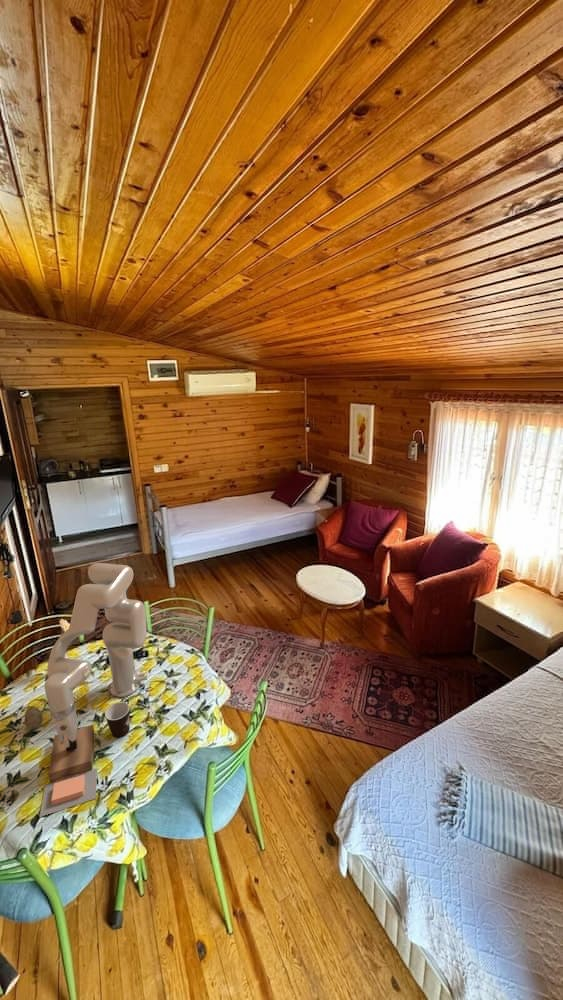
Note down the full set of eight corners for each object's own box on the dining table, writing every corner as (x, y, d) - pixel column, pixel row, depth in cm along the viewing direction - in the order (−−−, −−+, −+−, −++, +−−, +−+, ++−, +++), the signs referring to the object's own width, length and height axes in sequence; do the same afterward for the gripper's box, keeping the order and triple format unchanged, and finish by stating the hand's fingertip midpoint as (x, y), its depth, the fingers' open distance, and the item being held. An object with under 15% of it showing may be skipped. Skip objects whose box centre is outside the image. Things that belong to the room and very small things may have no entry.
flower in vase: (72, 680, 182) (62, 632, 174) (47, 679, 182) (36, 632, 174) (86, 660, 194) (77, 614, 186) (62, 660, 194) (53, 614, 186)
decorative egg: (46, 720, 161) (42, 700, 158) (41, 732, 155) (36, 712, 152) (30, 722, 160) (25, 702, 157) (24, 735, 154) (18, 714, 151)
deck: (94, 732, 155) (93, 724, 154) (92, 769, 141) (90, 760, 140) (56, 743, 151) (54, 735, 150) (50, 782, 137) (48, 773, 135)
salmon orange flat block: (82, 790, 132) (83, 795, 132) (84, 774, 137) (85, 778, 138) (51, 800, 129) (52, 805, 129) (54, 783, 134) (55, 787, 135)
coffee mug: (118, 744, 150) (114, 723, 147) (103, 734, 155) (100, 713, 151) (143, 722, 160) (140, 702, 156) (129, 713, 164) (126, 693, 161)
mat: (97, 769, 141) (97, 768, 141) (95, 798, 131) (95, 798, 131) (45, 785, 136) (44, 784, 136) (39, 817, 126) (39, 817, 126)
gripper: (73, 721, 133) (82, 763, 138) (76, 689, 146) (85, 728, 152) (47, 728, 130) (57, 770, 136) (53, 695, 143) (62, 734, 149)
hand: (72, 748), depth 144 cm, fingers closed
